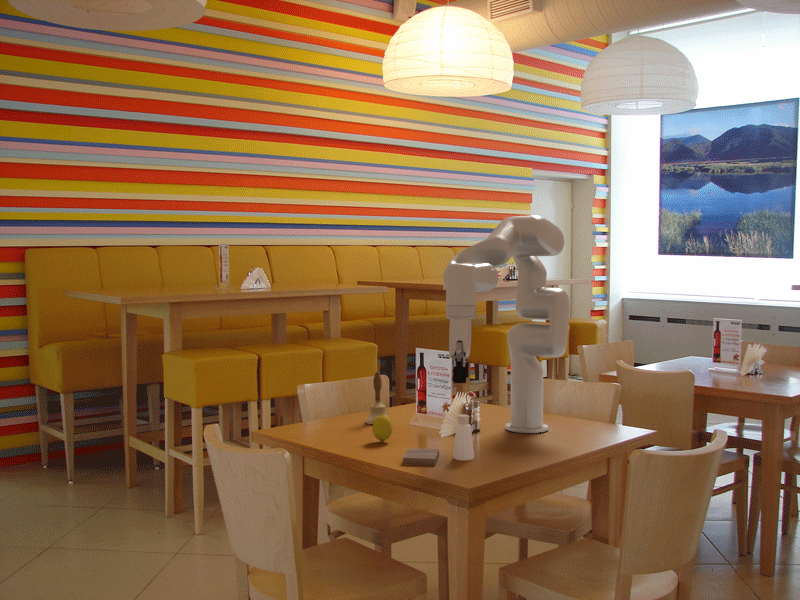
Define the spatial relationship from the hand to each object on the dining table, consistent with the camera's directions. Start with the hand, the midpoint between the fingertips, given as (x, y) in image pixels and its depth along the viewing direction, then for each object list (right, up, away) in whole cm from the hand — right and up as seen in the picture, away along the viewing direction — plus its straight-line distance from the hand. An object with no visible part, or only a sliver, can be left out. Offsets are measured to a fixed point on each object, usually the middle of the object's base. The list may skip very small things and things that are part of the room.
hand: (461, 380), depth 193 cm
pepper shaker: (+1, -20, +1) cm, 20 cm away
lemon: (-20, -20, +19) cm, 34 cm away
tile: (-9, -19, +4) cm, 22 cm away
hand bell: (-22, -18, +47) cm, 55 cm away
